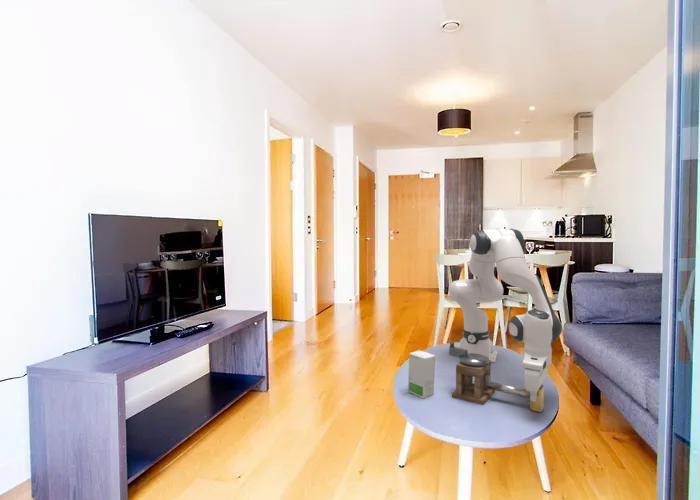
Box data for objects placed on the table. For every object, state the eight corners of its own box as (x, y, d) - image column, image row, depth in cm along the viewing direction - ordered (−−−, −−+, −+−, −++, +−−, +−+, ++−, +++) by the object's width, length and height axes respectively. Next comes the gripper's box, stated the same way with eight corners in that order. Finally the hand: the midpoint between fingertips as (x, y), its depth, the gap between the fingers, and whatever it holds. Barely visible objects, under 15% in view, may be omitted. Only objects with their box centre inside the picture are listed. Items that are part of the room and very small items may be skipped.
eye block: (464, 385, 164) (464, 354, 163) (494, 391, 157) (495, 360, 156) (451, 397, 152) (451, 364, 152) (483, 405, 146) (483, 371, 145)
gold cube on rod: (487, 394, 154) (487, 374, 153) (543, 407, 142) (544, 385, 142) (483, 398, 150) (484, 377, 150) (541, 412, 139) (541, 389, 138)
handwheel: (493, 361, 154) (494, 347, 154) (480, 368, 146) (480, 353, 146) (457, 352, 165) (457, 339, 165) (442, 359, 157) (442, 345, 157)
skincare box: (407, 392, 158) (407, 352, 157) (418, 387, 162) (418, 349, 161) (424, 399, 151) (424, 358, 150) (435, 394, 155) (435, 354, 154)
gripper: (533, 347, 151) (533, 383, 152) (521, 363, 134) (520, 404, 135) (552, 351, 147) (551, 387, 148) (541, 367, 131) (540, 409, 132)
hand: (536, 395), depth 142 cm, fingers open, 8 cm apart
